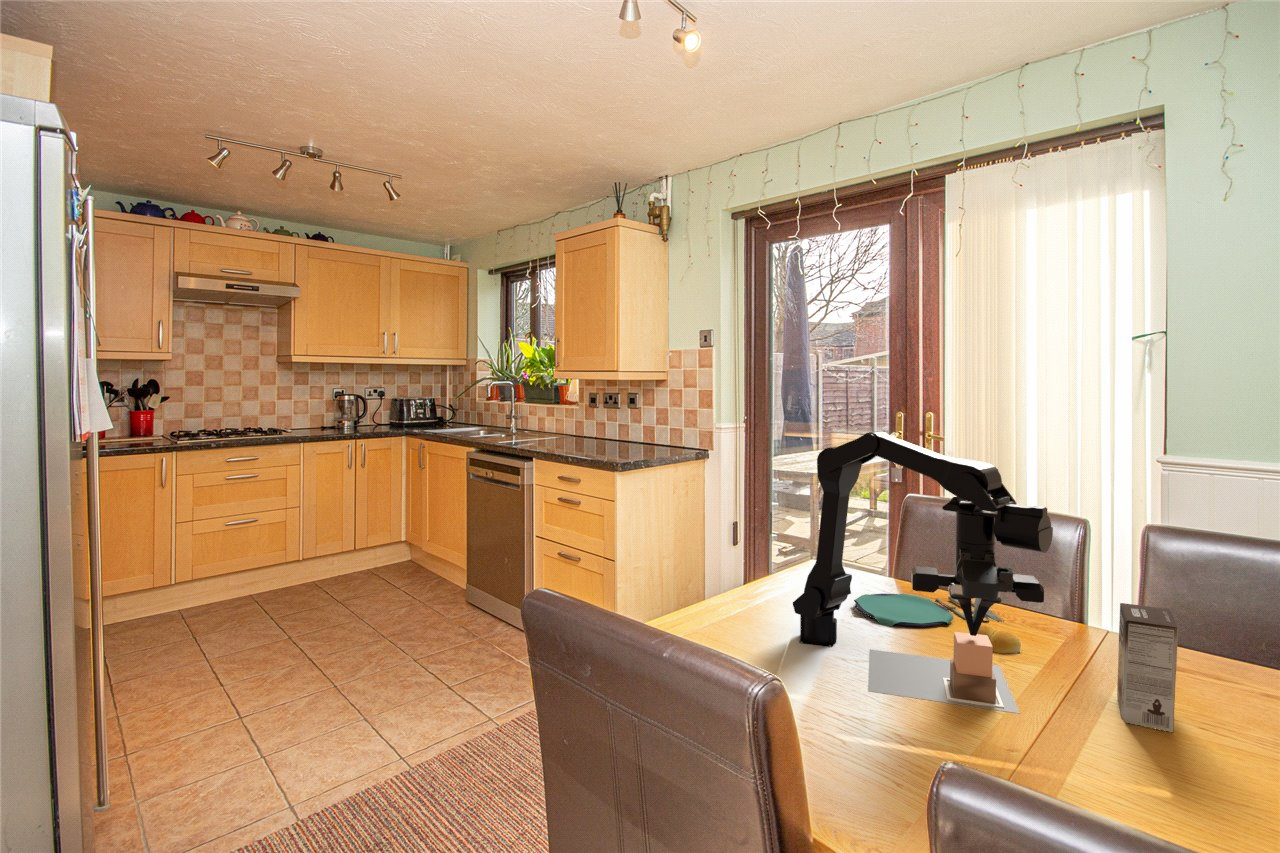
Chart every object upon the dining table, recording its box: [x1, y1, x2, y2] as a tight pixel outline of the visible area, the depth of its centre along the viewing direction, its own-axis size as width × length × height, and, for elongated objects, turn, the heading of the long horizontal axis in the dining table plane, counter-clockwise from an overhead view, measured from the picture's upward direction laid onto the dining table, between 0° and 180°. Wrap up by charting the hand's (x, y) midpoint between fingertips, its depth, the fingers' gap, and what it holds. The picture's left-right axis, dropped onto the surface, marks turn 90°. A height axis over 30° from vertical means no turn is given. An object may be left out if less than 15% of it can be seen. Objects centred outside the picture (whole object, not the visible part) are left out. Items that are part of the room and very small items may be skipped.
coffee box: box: [1116, 602, 1179, 733], centre depth 98 cm, size 9×6×16 cm
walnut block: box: [949, 658, 996, 704], centre depth 105 cm, size 6×6×4 cm
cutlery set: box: [854, 593, 1005, 627], centre depth 144 cm, size 20×30×2 cm, turn 94°
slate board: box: [867, 649, 1021, 714], centre depth 111 cm, size 22×18×1 cm
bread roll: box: [968, 624, 1022, 654], centre depth 125 cm, size 8×9×4 cm
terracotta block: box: [953, 631, 994, 677], centre depth 105 cm, size 5×5×5 cm
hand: (972, 634), depth 105 cm, fingers closed
